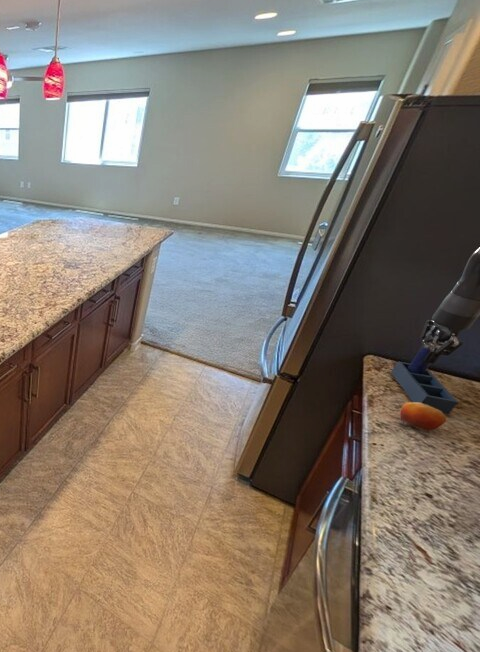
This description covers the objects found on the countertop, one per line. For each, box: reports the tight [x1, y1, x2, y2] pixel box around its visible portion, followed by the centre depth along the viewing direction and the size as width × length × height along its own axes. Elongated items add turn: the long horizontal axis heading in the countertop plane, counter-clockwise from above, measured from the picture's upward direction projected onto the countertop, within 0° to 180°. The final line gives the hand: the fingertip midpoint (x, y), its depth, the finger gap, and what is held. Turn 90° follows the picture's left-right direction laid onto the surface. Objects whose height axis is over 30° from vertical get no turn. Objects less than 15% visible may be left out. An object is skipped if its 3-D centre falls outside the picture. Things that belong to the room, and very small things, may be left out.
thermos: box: [407, 342, 441, 375], centre depth 118 cm, size 4×4×12 cm
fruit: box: [399, 401, 447, 434], centre depth 105 cm, size 8×8×8 cm
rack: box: [390, 361, 459, 415], centre depth 117 cm, size 7×18×4 cm, turn 155°
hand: (424, 358), depth 118 cm, fingers closed on thermos, 3 cm apart
